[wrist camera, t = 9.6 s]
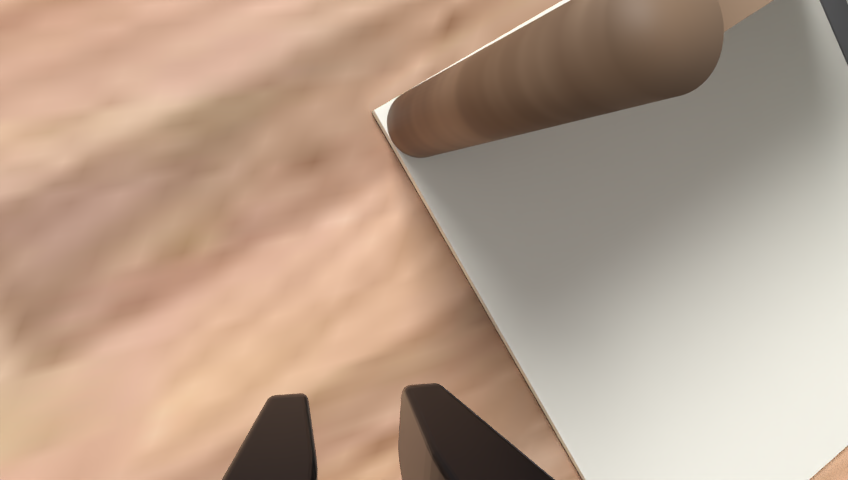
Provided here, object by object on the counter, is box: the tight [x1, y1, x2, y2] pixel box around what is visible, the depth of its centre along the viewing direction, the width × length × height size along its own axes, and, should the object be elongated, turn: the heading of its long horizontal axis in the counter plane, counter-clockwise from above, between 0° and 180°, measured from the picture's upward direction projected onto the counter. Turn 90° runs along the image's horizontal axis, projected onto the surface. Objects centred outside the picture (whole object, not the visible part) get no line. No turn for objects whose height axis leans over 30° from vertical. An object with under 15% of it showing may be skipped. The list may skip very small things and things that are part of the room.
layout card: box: [372, 0, 848, 480], centre depth 26 cm, size 18×19×1 cm
